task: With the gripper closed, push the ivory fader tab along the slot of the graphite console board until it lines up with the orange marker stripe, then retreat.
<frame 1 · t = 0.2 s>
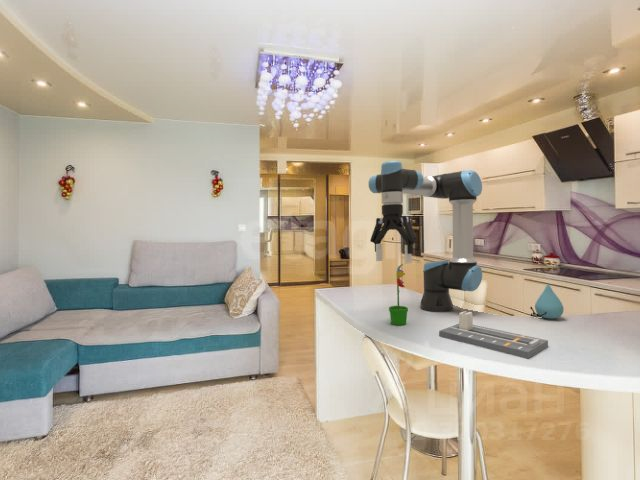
hand: (393, 262, 129), 28 cm above the table, fingers open, 13 cm apart
potted flower: (398, 323, 147), on the table
console: (490, 340, 122), on the table
fader tab: (465, 320, 129), point 5 cm above the table, slide at 0.0 cm
toy: (547, 318, 150), on the table
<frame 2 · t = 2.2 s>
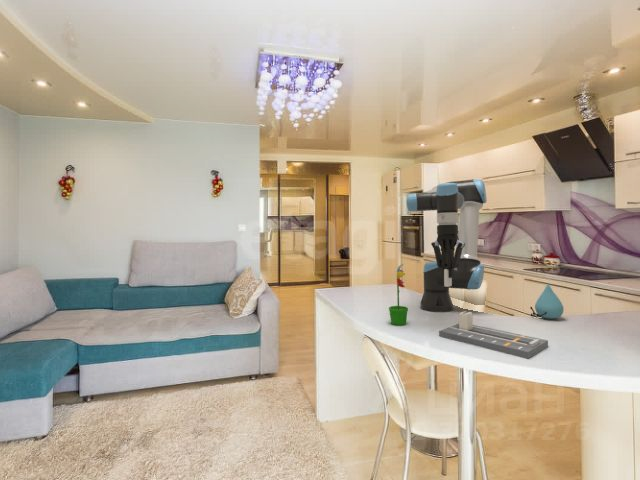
hand: (448, 286, 134), 17 cm above the table, fingers closed
nothing on the table moved.
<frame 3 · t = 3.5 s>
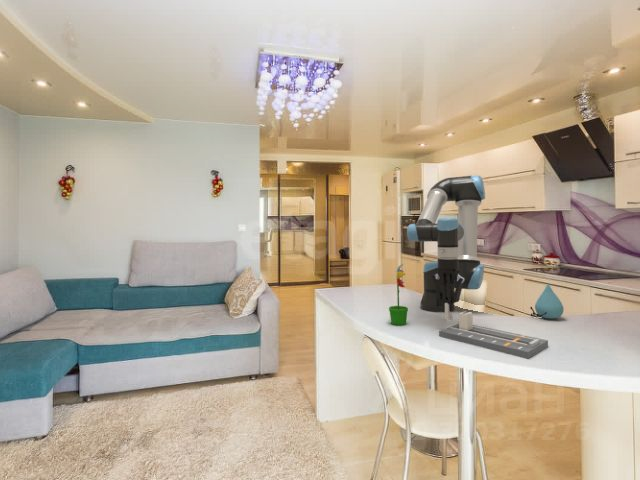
hand: (448, 319, 134), 4 cm above the table, fingers closed
nothing on the table moved.
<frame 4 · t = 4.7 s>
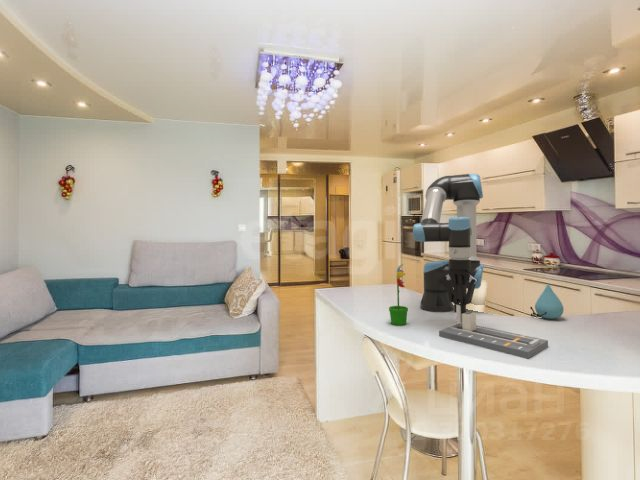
hand: (460, 321, 130), 5 cm above the table, fingers closed
fader tab: (469, 321, 128), point 5 cm above the table, slide at 1.3 cm, touching gripper
everything else where it was.
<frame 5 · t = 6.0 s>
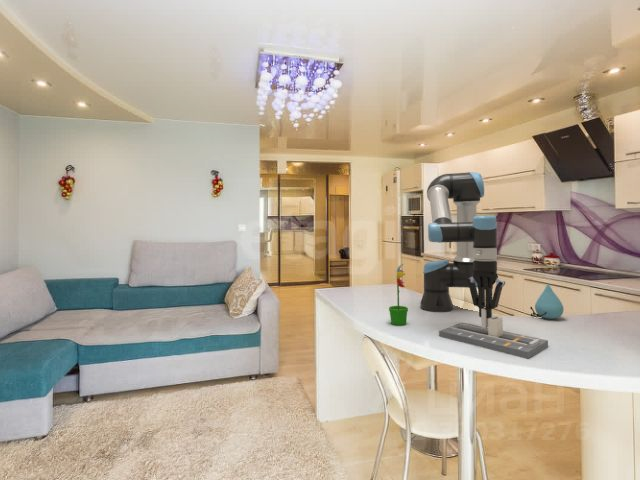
hand: (485, 326, 123), 5 cm above the table, fingers closed
fader tab: (495, 326, 120), point 5 cm above the table, slide at 10.7 cm, touching gripper
everything else where it was.
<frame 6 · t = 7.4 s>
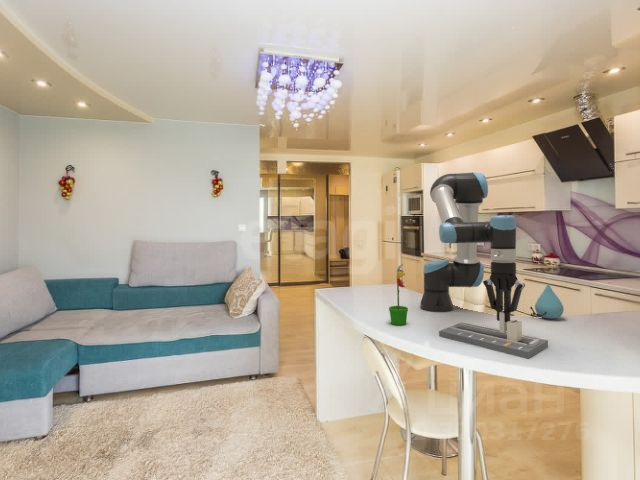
hand: (503, 331, 118), 4 cm above the table, fingers closed
fader tab: (514, 330, 116), point 5 cm above the table, slide at 16.9 cm, touching gripper
everything else where it was.
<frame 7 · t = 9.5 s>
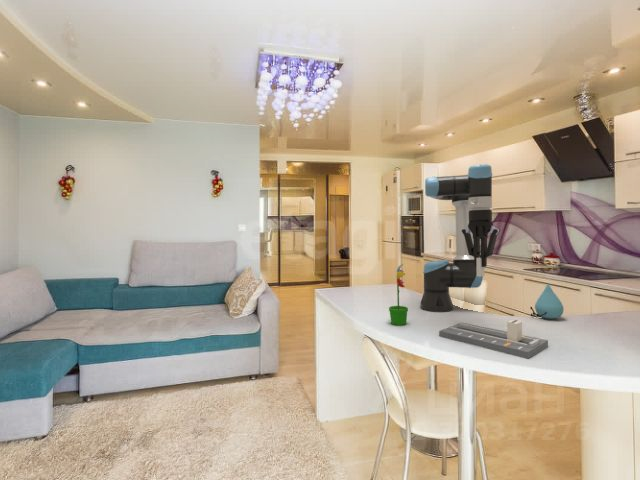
hand: (480, 275, 125), 22 cm above the table, fingers closed
fader tab: (514, 330, 115), point 5 cm above the table, slide at 16.9 cm
everything else where it was.
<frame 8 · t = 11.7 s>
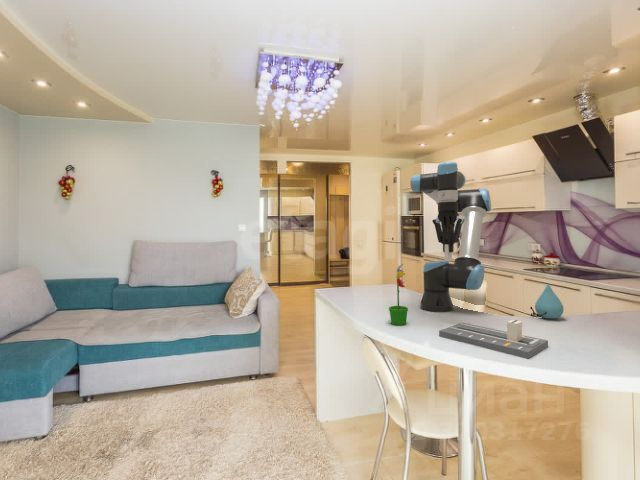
hand: (448, 260, 141), 26 cm above the table, fingers closed
nothing on the table moved.
at the end: fader tab slide at 16.9 cm; the gripper is holding nothing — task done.
